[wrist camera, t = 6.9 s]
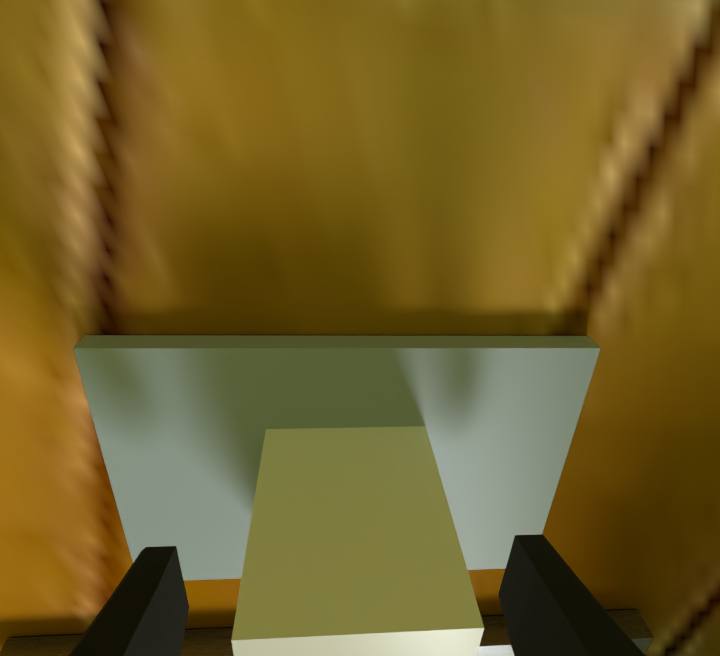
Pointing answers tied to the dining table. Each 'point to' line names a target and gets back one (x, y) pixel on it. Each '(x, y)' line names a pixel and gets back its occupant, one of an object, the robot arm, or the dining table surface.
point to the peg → (353, 550)
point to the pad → (328, 426)
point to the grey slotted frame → (214, 647)
